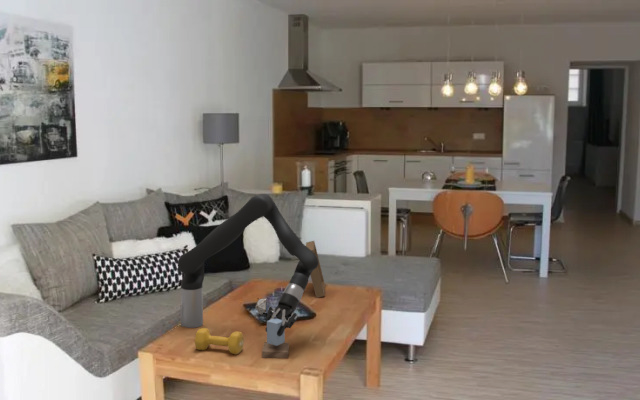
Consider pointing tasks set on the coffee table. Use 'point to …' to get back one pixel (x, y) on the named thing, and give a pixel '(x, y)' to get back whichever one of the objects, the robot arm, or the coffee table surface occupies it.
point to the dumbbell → (219, 340)
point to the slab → (275, 350)
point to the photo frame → (316, 273)
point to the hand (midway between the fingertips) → (272, 333)
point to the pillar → (274, 332)
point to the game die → (261, 306)
